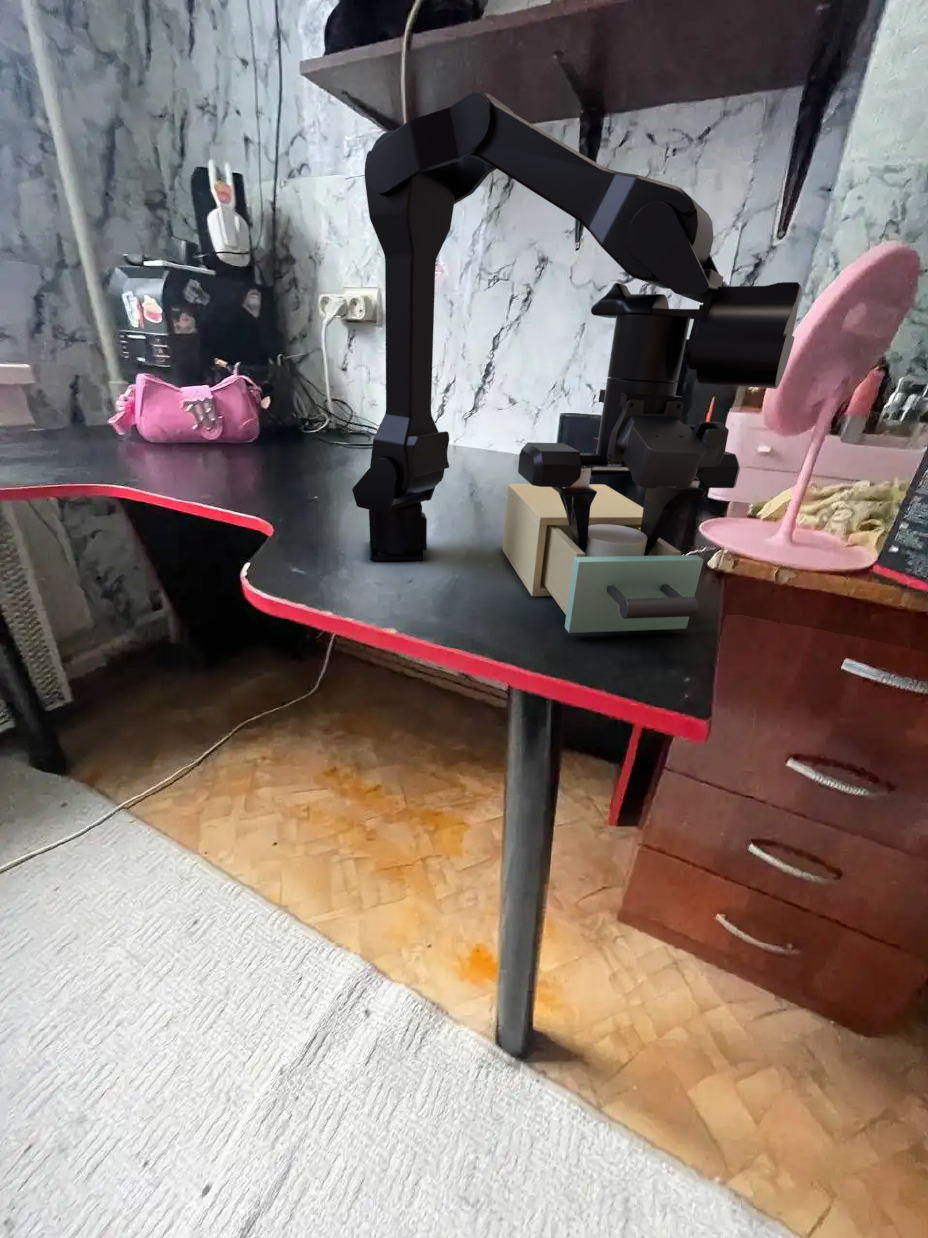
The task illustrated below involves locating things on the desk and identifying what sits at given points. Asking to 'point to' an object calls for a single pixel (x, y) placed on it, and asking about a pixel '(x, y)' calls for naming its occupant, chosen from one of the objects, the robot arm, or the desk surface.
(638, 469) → the robot arm
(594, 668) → the desk surface
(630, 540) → the cylinder
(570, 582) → the drawer
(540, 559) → the cabinet
